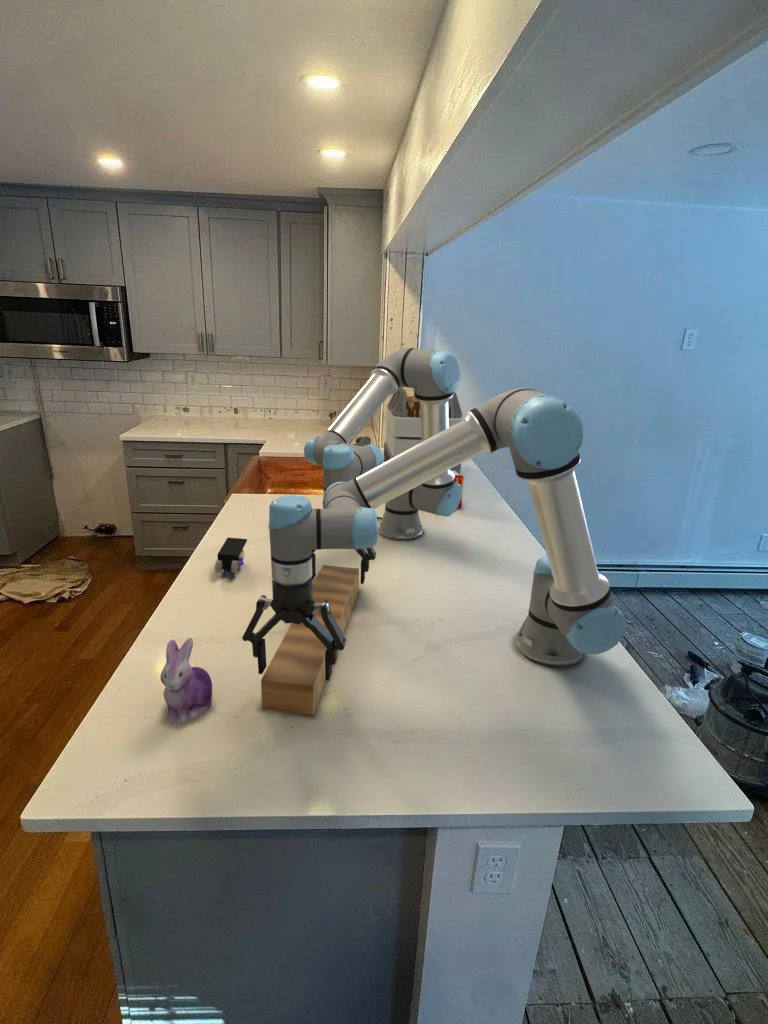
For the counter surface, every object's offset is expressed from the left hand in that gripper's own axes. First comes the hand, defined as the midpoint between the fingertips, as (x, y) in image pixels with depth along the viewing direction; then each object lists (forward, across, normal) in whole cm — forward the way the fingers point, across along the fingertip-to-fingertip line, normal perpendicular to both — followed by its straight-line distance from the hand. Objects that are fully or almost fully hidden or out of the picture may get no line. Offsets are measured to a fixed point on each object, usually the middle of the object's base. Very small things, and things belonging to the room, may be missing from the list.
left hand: (337, 579), depth 153 cm
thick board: (+5, 0, -22) cm, 22 cm away
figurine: (+4, -19, -50) cm, 54 cm away
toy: (+7, +27, +94) cm, 98 cm away
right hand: (-1, 0, -42) cm, 42 cm away
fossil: (+8, -21, +155) cm, 157 cm away
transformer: (+8, +13, +130) cm, 131 cm away
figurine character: (+5, -34, +10) cm, 36 cm away
